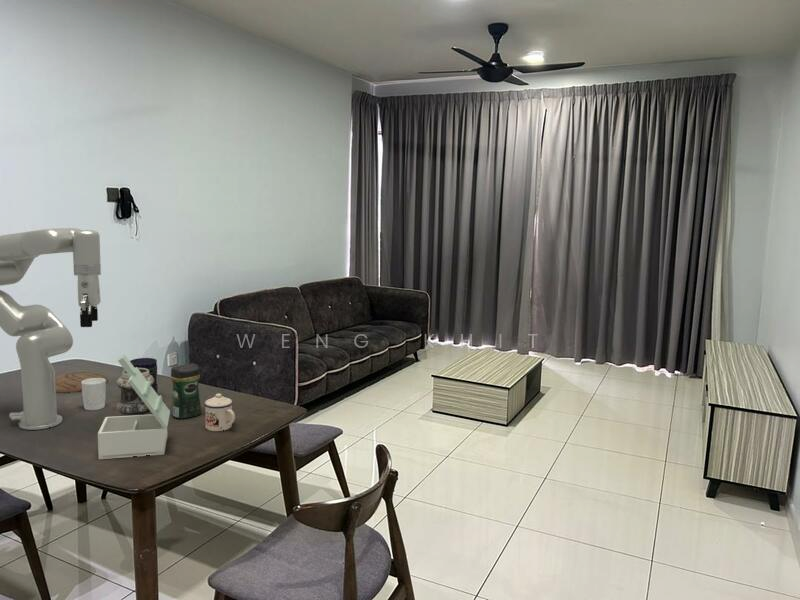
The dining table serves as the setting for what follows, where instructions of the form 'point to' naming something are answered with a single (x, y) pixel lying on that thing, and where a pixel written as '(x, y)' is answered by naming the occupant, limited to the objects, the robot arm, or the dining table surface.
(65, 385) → the trivet
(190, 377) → the coffee jar
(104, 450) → the tub
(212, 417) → the teacup with lid
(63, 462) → the dining table surface
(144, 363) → the storage jar
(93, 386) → the white cup
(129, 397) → the apothecary jar
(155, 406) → the lid
